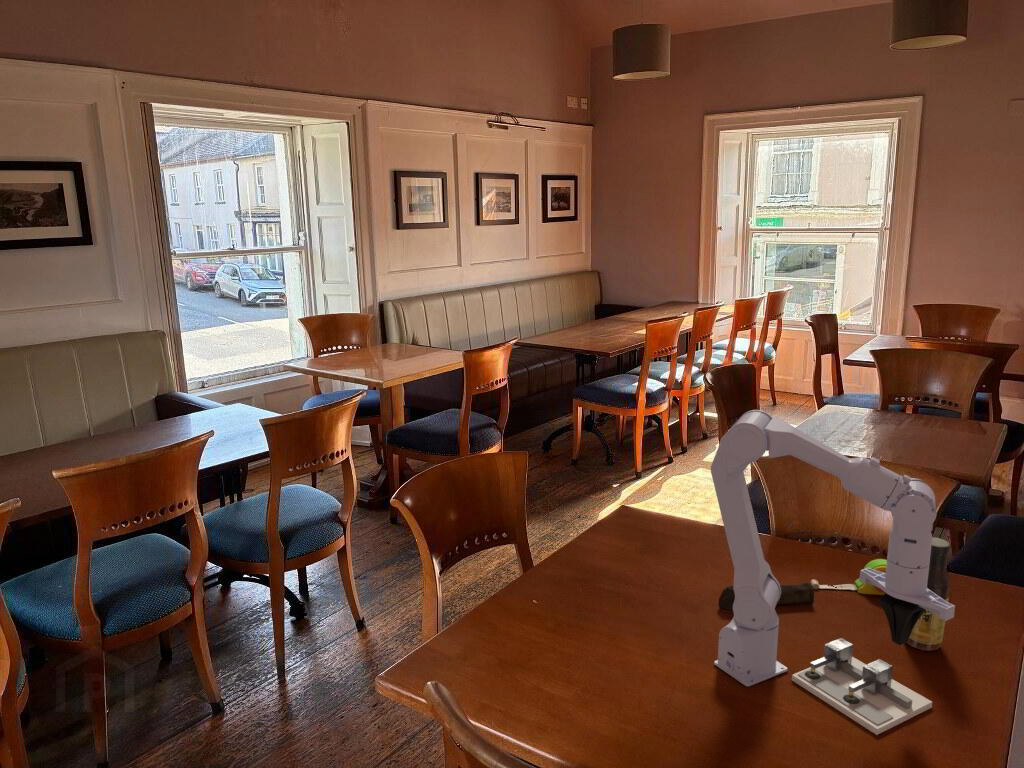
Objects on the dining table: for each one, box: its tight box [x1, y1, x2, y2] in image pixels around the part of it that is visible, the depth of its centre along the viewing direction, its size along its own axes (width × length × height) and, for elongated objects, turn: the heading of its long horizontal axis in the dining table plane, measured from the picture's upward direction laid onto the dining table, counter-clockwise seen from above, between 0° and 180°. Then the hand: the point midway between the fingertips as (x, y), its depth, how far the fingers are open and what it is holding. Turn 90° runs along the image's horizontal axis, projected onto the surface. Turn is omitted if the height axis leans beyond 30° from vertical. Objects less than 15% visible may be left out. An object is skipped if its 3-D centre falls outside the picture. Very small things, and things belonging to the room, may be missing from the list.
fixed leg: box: [809, 637, 854, 674], centre depth 130 cm, size 8×2×4 cm, turn 119°
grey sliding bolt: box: [848, 658, 893, 698], centre depth 123 cm, size 8×2×4 cm, turn 119°
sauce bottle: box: [905, 536, 952, 652], centre depth 137 cm, size 7×6×20 cm
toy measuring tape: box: [810, 558, 887, 596], centre depth 159 cm, size 6×19×7 cm, turn 81°
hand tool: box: [718, 582, 815, 611], centre depth 154 cm, size 19×4×5 cm, turn 95°
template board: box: [791, 656, 933, 736], centre depth 125 cm, size 13×16×2 cm
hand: (900, 641), depth 121 cm, fingers closed
